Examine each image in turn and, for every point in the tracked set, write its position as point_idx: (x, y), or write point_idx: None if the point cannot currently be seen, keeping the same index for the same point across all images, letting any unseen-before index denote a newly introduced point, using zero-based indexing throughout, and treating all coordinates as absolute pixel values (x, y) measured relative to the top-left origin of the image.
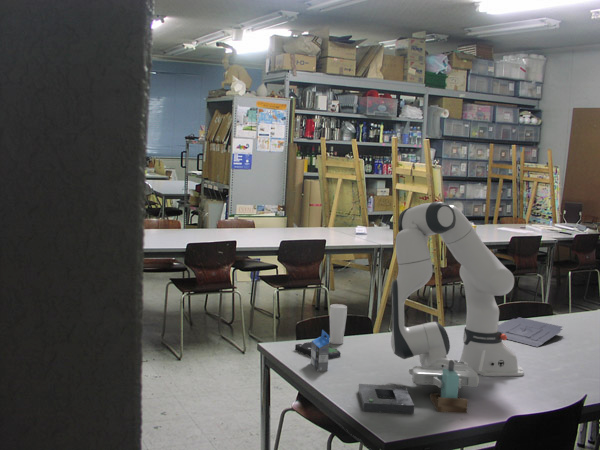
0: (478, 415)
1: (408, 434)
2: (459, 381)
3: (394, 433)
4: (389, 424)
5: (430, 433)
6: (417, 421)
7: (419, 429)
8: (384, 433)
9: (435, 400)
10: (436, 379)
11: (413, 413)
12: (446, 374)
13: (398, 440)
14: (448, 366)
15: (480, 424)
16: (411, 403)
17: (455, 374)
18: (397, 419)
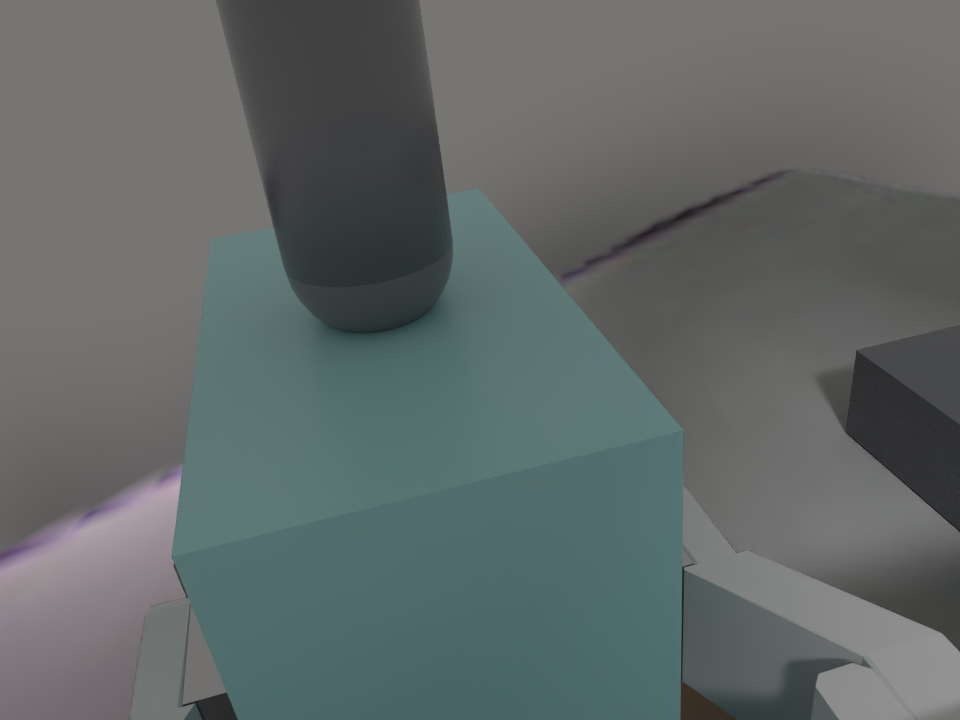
0: (93, 672)
1: (721, 229)
2: (135, 697)
3: (803, 214)
4: (906, 260)
5: (595, 270)
6: (742, 346)
7: (680, 279)
8: (856, 200)
9: (714, 712)
10: (807, 577)
11: (850, 428)
12: (498, 214)
13: (744, 188)
14: (433, 107)
15: (176, 481)
16: (918, 372)
17: (271, 265)
18: (909, 319)
